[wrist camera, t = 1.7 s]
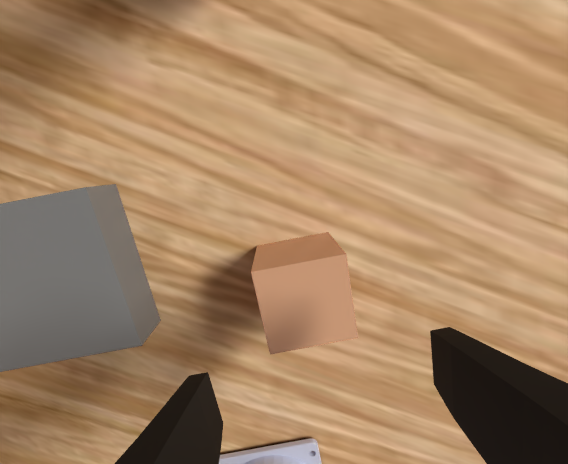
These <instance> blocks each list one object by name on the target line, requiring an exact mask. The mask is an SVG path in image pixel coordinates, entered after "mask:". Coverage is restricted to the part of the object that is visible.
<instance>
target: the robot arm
mask: <svg viewBox="0 0 568 464" xmlns="http://www.w3.org/2000/svg"><path fill="white" fill-rule="evenodd" d="M430 333H431V347H432V362H433V376H434V385H435V387H436V388H437V390H438V392H439V394H440V396H441V397H442V399H443V401H444V403H445V404H446V406H447V408H448V409H449V411H450V413H451V414H452V416H453V418H454V419H455V420H456V422H457V423H458V425H459V426H460V428H461V429H462V430H463V432H464V433H465V434H466V436H467V437H468V439H469V440H470V441H471V443H472V444H473V445H474V447H475V448H476V450H477V451H478V452H479V454H480V455H481V456H482V458H483V459H484V460H485V462H486V463H487V464H568V383H566V382H563V381H561V380H559V379H557V378H554V377H552V376H550V375H548V374H546V373H544V372H541V371H539V370H537V369H535V368H533V367H531V366H529V365H527V364H524V363H522V362H520V361H518V360H516V359H514V358H512V357H510V356H508V355H506V354H504V353H502V352H500V351H498V350H496V349H494V348H492V347H490V346H488V345H486V344H484V343H482V342H480V341H478V340H476V339H474V338H472V337H470V336H467V335H465V334H463V333H461V332H459V331H457V330H455V329H453V328H450V327H448V328H442V329H437V330H432V331H430ZM222 430H223V421H222V417H221V414H220V411H219V408H218V404H217V401H216V398H215V394H214V391H213V388H212V384H211V381H210V378H209V374H208V372H207V373H201V374H196V375H191V376H189V377H188V378H187V379H186V380H185V381H184V382H183V384H182V385H181V386H180V387H179V388H178V390H177V391H176V392H175V393H174V394H173V396H172V397H171V398H170V399H169V401H168V402H167V403H166V404H165V406H164V407H163V408H162V409H161V410H160V412H159V413H158V414H157V415H156V416H155V418H154V419H153V420H152V421H151V422H150V424H149V425H148V426H147V427H146V428H145V430H144V431H143V432H142V433H141V434H140V436H139V437H138V438H137V439H136V440H135V441H134V443H133V444H132V445H131V446H130V447H129V448H128V449H127V450H126V451H125V453H124V454H123V455H122V456H121V457H120V458H119V459H118V460H117V462H116V463H115V464H322V463H321V458H320V453H319V448H318V443H317V441H316V440H315V439H312V438H310V439H304V440H299V441H293V442H288V443H282V444H277V445H272V446H266V447H261V448H255V449H250V450H244V451H239V452H233V453H228V454H222V455H220V450H221V441H222Z"/></svg>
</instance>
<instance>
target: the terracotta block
mask: <svg viewBox="0 0 568 464" xmlns="http://www.w3.org/2000/svg"><path fill="white" fill-rule="evenodd" d="M251 274H252V279H253V283H254V287H255V291H256V296H257V300H258V304H259V309H260V313H261V317H262V322H263V326H264V330H265V334H266V339H267V343H268V347H269V352H270V354H275V353H280V352H286V351H291V350H297V349H302V348H307V347H313V346H318V345H323V344H329V343H334V342H339V341H345V340H350V339H355V338H358V333H357V326H356V319H355V312H354V305H353V298H352V291H351V284H350V277H349V270H348V263H347V256H346V253H345V252H344V251H343V249H342V248H341V247H340V246H339V245H338V243H337V242H336V241H335V240H334V239H333V237H332V236H331V235H330V234H329V233H328V232H326V233H321V234H316V235H310V236H305V237H300V238H295V239H290V240H284V241H279V242H274V243H269V244H264V245H258V246H257V248H256V253H255V257H254V261H253V266H252V270H251Z"/></svg>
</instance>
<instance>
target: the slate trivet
mask: <svg viewBox="0 0 568 464" xmlns="http://www.w3.org/2000/svg"><path fill="white" fill-rule="evenodd" d="M160 321H161V320H160V317H159V314H158V311H157V308H156V305H155V301H154V298H153V295H152V292H151V289H150V286H149V283H148V280H147V277H146V274H145V271H144V268H143V265H142V262H141V259H140V256H139V253H138V250H137V247H136V244H135V241H134V238H133V235H132V232H131V229H130V226H129V223H128V220H127V217H126V213H125V210H124V207H123V204H122V201H121V198H120V195H119V192H118V189H117V186H116V184H113V185H104V186H94V187H85V188H80V189H75V190H70V191H65V192H59V193H54V194H49V195H44V196H39V197H34V198H28V199H23V200H18V201H13V202H8V203H3V204H0V372H2V371H8V370H13V369H18V368H24V367H29V366H35V365H40V364H45V363H51V362H56V361H62V360H67V359H72V358H78V357H83V356H89V355H94V354H99V353H105V352H110V351H116V350H121V349H126V348H132V347H137V346H142V345H143V343H144V342H145V341H146V339H147V338H148V337H149V335H150V334H151V333H152V331H153V330H154V329H155V327H156V326H157V325H158V323H159V322H160Z"/></svg>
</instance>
